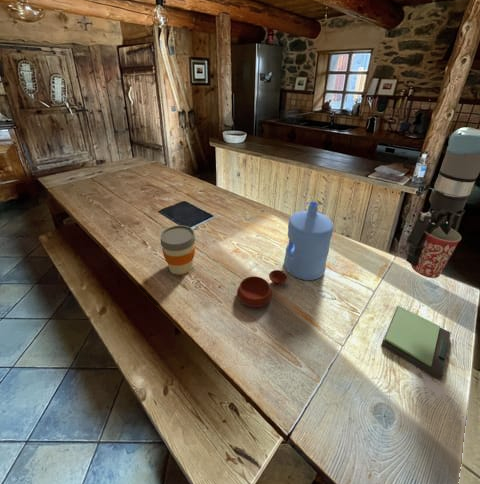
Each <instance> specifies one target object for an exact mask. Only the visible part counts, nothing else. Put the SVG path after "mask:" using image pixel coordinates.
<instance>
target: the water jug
mask: <svg viewBox="0 0 480 484" xmlns="http://www.w3.org/2000/svg"><path fill="white" fill-rule="evenodd" d="M318 207H319V203H318V202H317V201H309V203H308V209H307V210H301V211H297V212H294V213H292V215H291V216H289V220H288V224H287V238H288V243H287V246H286V248H285V254H284V259H283V265H284V267H285V269H286V271H287V273H289V274H290V275H292V276H293V277H295V278H297V279H300V280H304V281H313V280H318V279H320V278H321V277H322V276H324V274H325V272H326V266H327V260H328V256H329V253H330V252H329V251H330V244H331V240H332V236H333V232H334V223H333V221H332V220H331V218H329V217H328V216H326V215H325V214H324V213H323V214H322V213H319V212H318V210H319V208H318Z"/></svg>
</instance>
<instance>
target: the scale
mask: <svg viewBox="0 0 480 484" xmlns="http://www.w3.org/2000/svg"><path fill="white" fill-rule="evenodd" d="M450 339H451V332H450V331H448V330H447V329H445V328H442V327H441V326H440V325H438V324H436V323H434V322H433V321H430V320H428V319H426V318H424V317H422V316H420V315H419V314H417V313H415V312H412V311H411V310H409V309H407V308H405V307H402V306H400V305H397V306H396V309H395V310H394V313H393V316H392V317H391V320H390V323H389V325H388V328H387V330H386V332H385V335H384V337H383V339H382V342H381V345H380V346H382V347H383V348H385V349H387V350H389V352H392V353H393V354H395V355H396V356H398V357H400V358H402V359H403V360H405V361H407V362H408V363H410V364H412V365H413V366H415V367H417V368H418V369H420V370H422V371H423V372H425V373H426V374H429V375H430V376H432V377H433V378H435V379H437V380H438V381H441V380H442V378H443V377H444V372H445V366H446V360H447V356H448V355H447V354H448V349H449V344H450Z"/></svg>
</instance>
